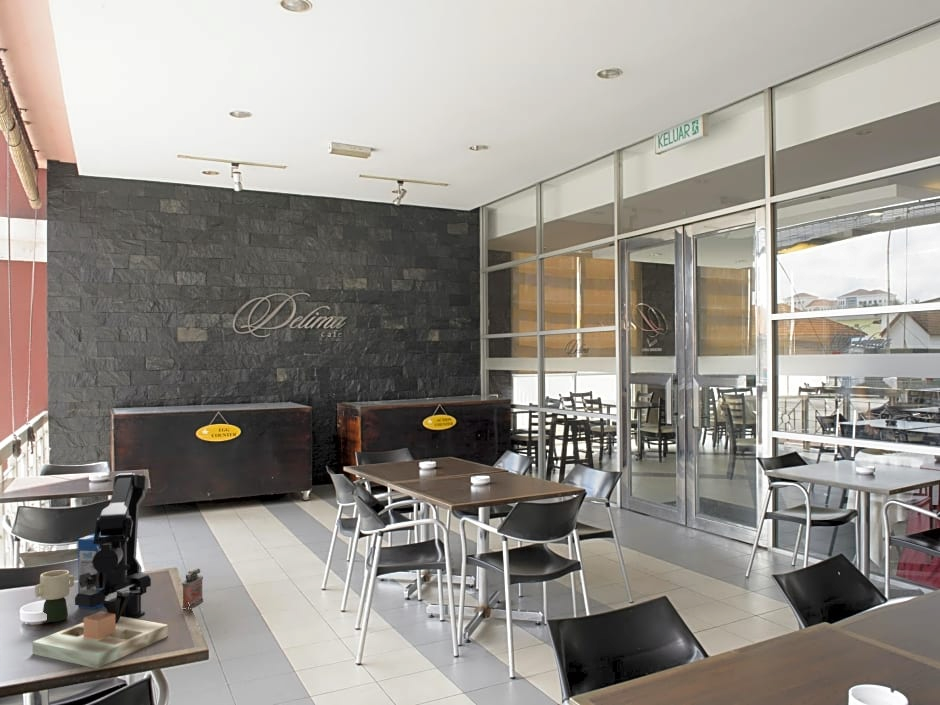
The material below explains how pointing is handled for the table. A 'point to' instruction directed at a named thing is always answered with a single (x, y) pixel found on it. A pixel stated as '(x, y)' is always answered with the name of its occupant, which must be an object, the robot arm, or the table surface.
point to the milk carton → (87, 562)
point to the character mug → (54, 593)
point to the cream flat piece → (100, 642)
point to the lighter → (192, 589)
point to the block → (99, 625)
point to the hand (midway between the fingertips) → (114, 623)
